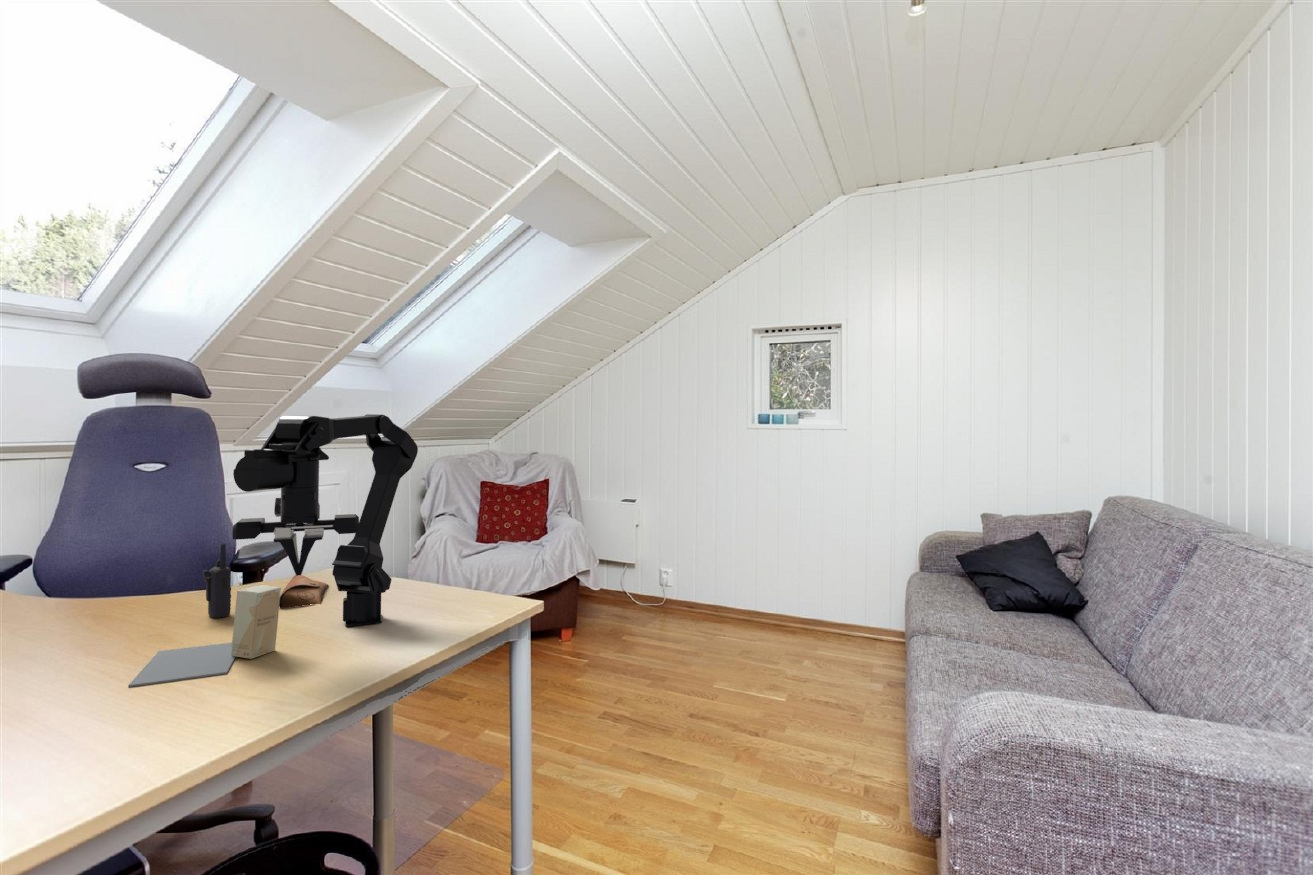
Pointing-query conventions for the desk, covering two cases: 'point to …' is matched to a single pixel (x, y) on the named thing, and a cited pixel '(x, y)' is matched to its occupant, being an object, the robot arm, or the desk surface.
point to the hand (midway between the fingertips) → (298, 575)
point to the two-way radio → (218, 587)
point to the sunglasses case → (302, 592)
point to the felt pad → (186, 664)
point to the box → (255, 621)
